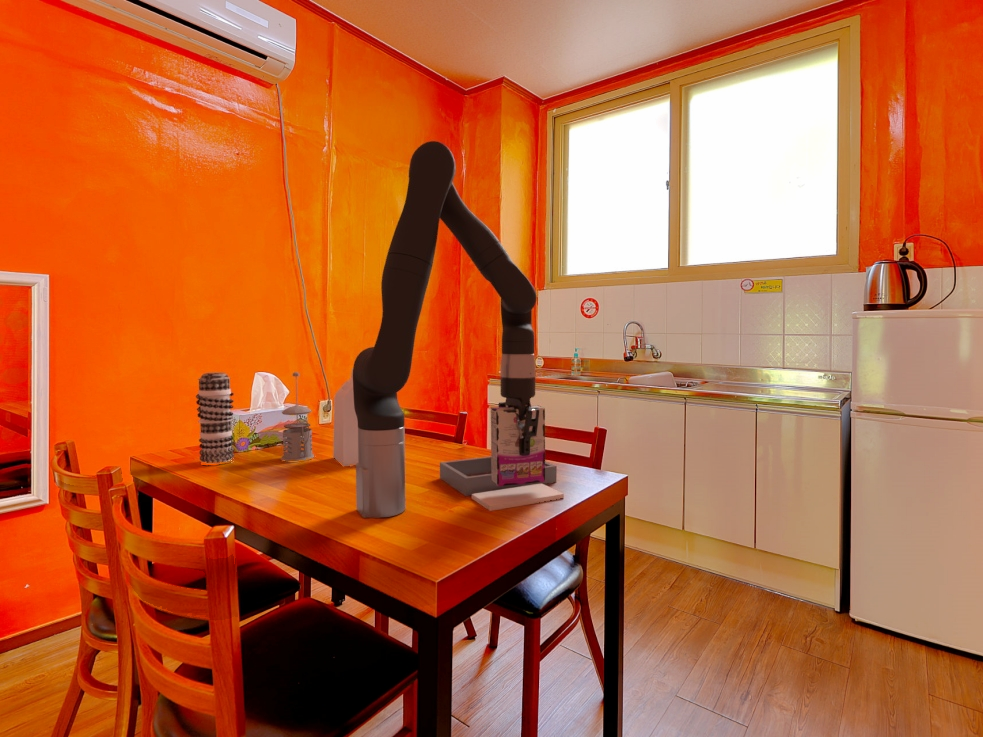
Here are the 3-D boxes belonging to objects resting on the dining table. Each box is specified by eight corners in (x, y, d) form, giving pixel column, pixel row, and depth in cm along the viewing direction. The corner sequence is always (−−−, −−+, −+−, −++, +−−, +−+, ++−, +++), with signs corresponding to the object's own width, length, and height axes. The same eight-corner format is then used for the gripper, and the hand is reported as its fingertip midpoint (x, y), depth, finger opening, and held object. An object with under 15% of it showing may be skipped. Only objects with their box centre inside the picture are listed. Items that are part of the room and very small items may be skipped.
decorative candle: (208, 458, 149) (205, 372, 147) (241, 458, 149) (238, 371, 148) (191, 466, 140) (188, 374, 138) (226, 466, 140) (223, 374, 139)
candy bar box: (536, 476, 117) (537, 404, 116) (545, 482, 112) (546, 407, 111) (489, 480, 113) (489, 406, 112) (496, 487, 109) (497, 409, 107)
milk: (384, 462, 145) (383, 369, 143) (343, 467, 139) (341, 371, 138) (372, 453, 155) (370, 367, 154) (333, 458, 150) (331, 368, 148)
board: (490, 510, 105) (490, 506, 105) (471, 498, 113) (471, 493, 113) (563, 498, 113) (563, 493, 113) (541, 487, 121) (541, 483, 121)
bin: (465, 496, 114) (465, 478, 114) (439, 478, 129) (439, 462, 128) (556, 482, 125) (556, 466, 125) (523, 467, 139) (523, 452, 139)
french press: (308, 452, 156) (306, 370, 154) (323, 460, 147) (321, 372, 146) (275, 457, 150) (272, 371, 148) (288, 465, 141) (286, 374, 139)
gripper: (551, 376, 106) (550, 457, 108) (516, 372, 119) (516, 444, 120) (519, 378, 103) (519, 461, 104) (487, 373, 116) (487, 447, 117)
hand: (517, 452), depth 112 cm, fingers closed on candy bar box, 5 cm apart
